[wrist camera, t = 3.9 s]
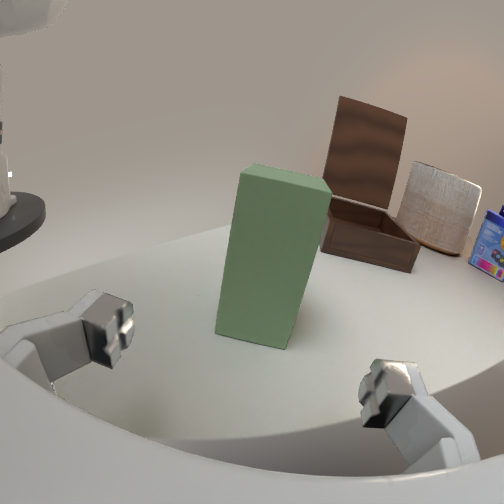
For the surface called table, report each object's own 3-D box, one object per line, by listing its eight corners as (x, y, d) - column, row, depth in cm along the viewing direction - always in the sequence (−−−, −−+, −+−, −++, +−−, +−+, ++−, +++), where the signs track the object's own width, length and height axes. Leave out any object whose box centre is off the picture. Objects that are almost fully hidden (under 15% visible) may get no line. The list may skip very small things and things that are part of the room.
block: (214, 333, 20) (240, 171, 15) (229, 296, 24) (253, 163, 20) (284, 349, 19) (332, 192, 15) (288, 309, 24) (323, 178, 19)
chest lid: (407, 117, 44) (399, 120, 48) (339, 95, 45) (336, 100, 49) (387, 209, 50) (380, 206, 54) (319, 191, 51) (317, 188, 55)
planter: (469, 265, 47) (494, 194, 40) (396, 237, 52) (419, 160, 45) (450, 241, 62) (468, 184, 56) (391, 218, 67) (407, 159, 61)
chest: (410, 273, 36) (421, 245, 35) (320, 251, 37) (329, 220, 35) (379, 232, 52) (386, 211, 51) (313, 215, 53) (318, 193, 51)
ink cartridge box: (467, 263, 48) (490, 198, 42) (468, 258, 52) (489, 198, 46) (503, 283, 42) (528, 218, 36) (501, 276, 46) (524, 216, 40)
